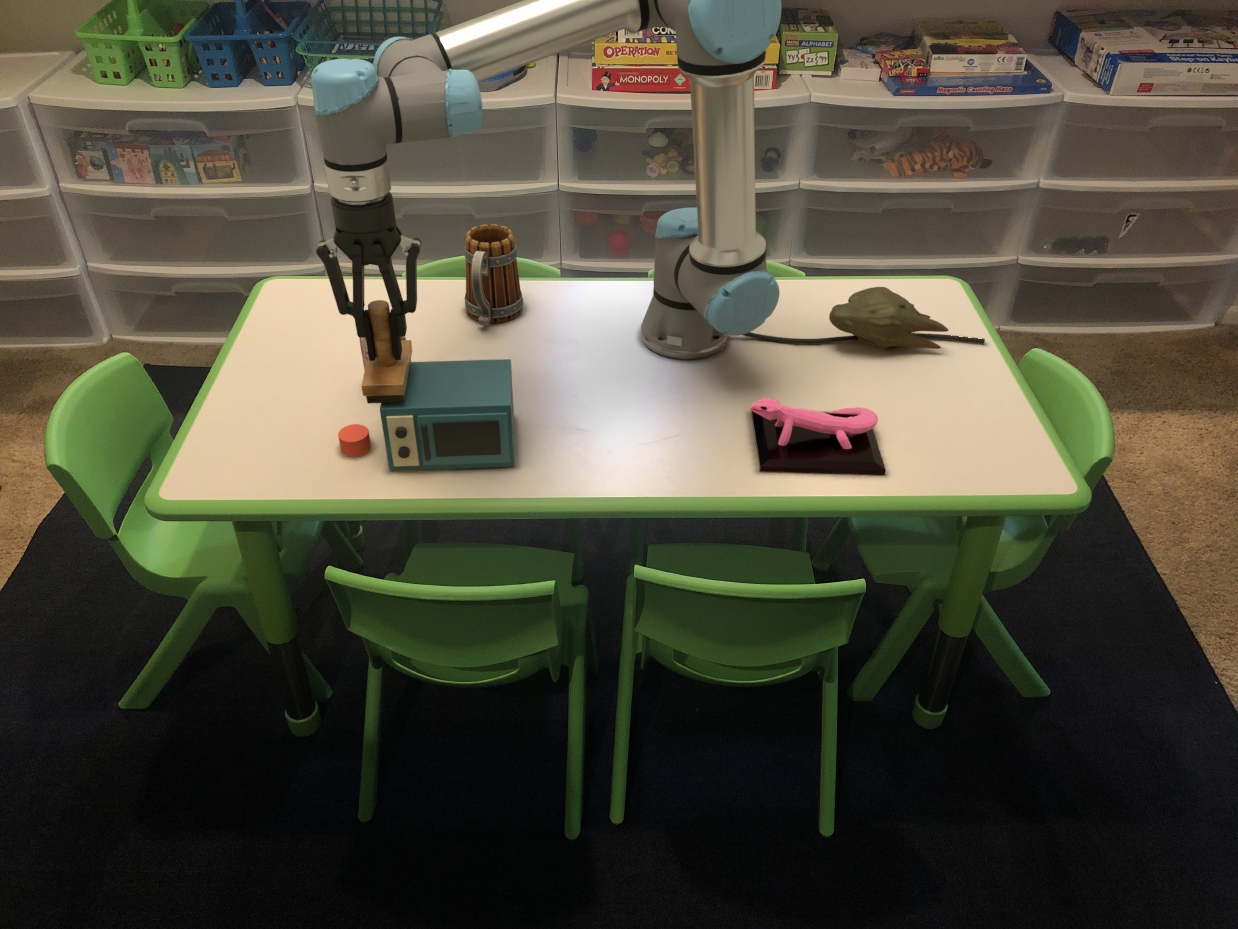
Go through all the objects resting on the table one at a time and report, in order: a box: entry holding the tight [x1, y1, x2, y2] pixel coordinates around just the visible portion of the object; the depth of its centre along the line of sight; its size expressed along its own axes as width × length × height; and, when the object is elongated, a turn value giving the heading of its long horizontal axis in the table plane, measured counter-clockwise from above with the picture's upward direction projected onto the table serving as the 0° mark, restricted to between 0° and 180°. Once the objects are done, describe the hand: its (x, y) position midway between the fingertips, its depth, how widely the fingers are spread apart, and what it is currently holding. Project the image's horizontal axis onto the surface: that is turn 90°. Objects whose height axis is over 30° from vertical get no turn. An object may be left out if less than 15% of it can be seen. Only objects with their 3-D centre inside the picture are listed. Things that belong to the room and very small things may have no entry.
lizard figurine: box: [749, 397, 887, 476], centre depth 145 cm, size 15×20×7 cm
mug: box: [464, 223, 524, 326], centre depth 171 cm, size 16×11×15 cm
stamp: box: [361, 299, 413, 404], centre depth 134 cm, size 6×12×12 cm, turn 4°
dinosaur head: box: [828, 286, 950, 349], centre depth 168 cm, size 18×9×18 cm
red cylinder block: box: [337, 423, 372, 458], centre depth 143 cm, size 4×4×3 cm
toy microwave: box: [379, 358, 515, 472], centre depth 142 cm, size 18×13×11 cm
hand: (385, 354), depth 135 cm, fingers closed on stamp, 3 cm apart
